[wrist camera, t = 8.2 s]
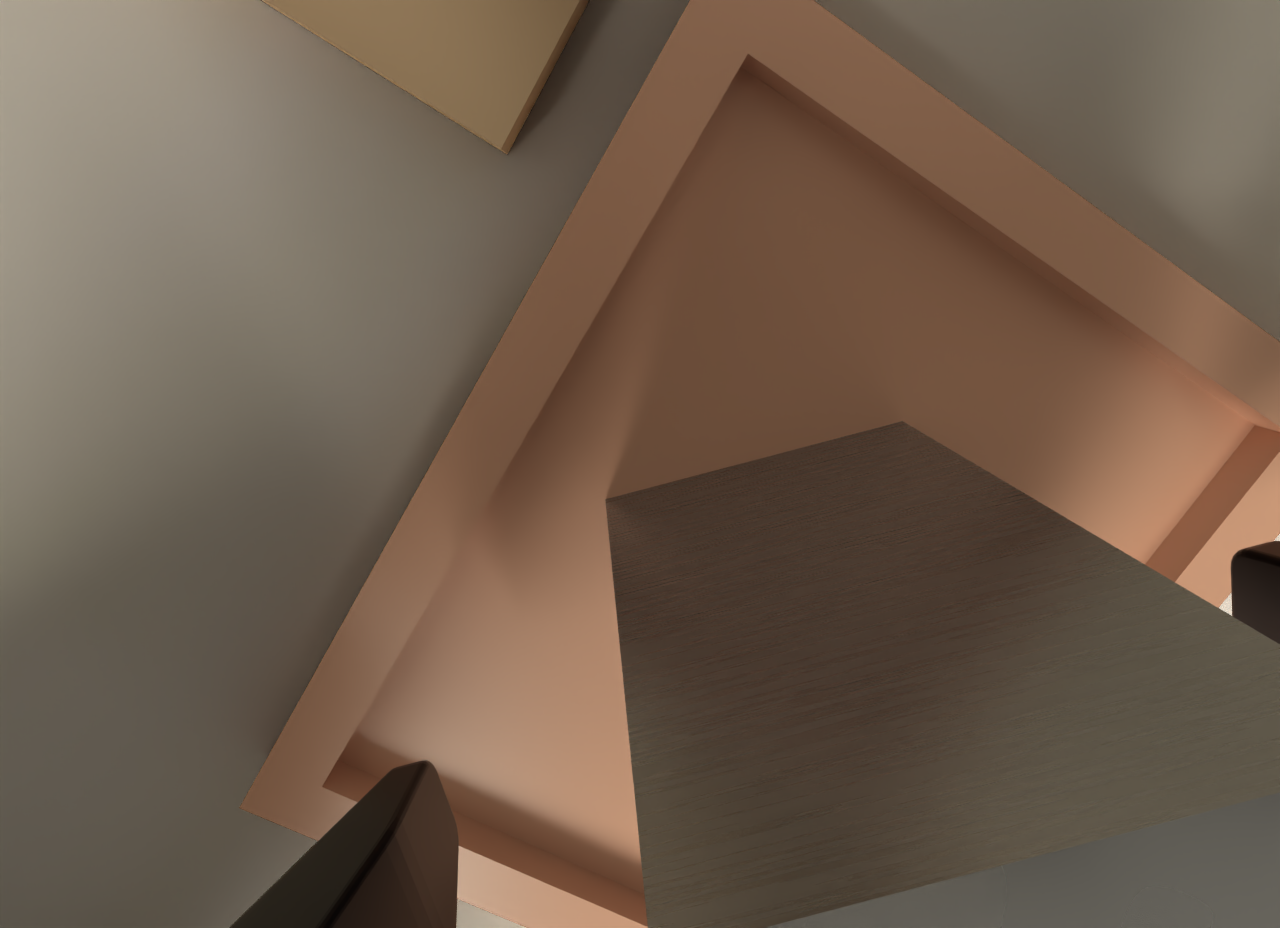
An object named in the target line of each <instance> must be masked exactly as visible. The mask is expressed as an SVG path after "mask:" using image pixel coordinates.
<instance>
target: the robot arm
mask: <svg viewBox="0 0 1280 928" xmlns="http://www.w3.org/2000/svg"><path fill="white" fill-rule="evenodd" d="M1231 591H1232V616H1233V617H1234V618H1236V619H1238V620H1239V621H1241V622H1243V623H1244V624H1246V625H1248V626H1250V627H1251V628H1253V629H1255V630H1256V631H1258V632H1260V633H1261V634H1263V635H1265V636H1266V637H1268V638H1270V639H1271V640H1273V641H1275V642H1277V643H1278V644H1280V541H1272V542H1266V543H1263V544H1259V545H1255V546H1251V547H1247V548H1244V549H1241V550H1239V551H1237V552H1236V553H1235V554H1234V556H1233V557H1232V560H1231ZM458 853H459V838H458V830H457V825H456V821H455V818H454V815H453V812H452V810H451V807H450V804H449V802H448V799H447V796H446V794H445V791H444V788H443V786H442V783H441V780H440V778H439V775H438V772H437V770H436V768H435V767H434V765H433V764H432V763H431V762H430V761H427V760H422V761H418V762H414V763H410V764H406V765H402V766H398V767H395V768H393V769H392V770H390V771H389V772H388V773H387V774H386V775H385V776H384V777H383V778H382V779H381V780H380V781H379V782H378V783H377V784H376V785H375V786H374V787H373V788H372V789H371V790H370V791H369V792H368V793H367V794H366V795H365V796H364V797H363V798H362V799H361V800H360V801H359V802H357V803H356V804H355V805H354V806H353V807H352V808H351V809H350V810H349V811H348V812H347V813H346V814H345V815H344V816H343V817H342V818H341V819H340V820H339V821H338V822H337V823H336V824H335V825H334V826H333V827H332V828H331V829H330V830H329V831H328V832H327V833H326V834H325V835H324V836H323V837H322V838H321V839H320V840H319V841H318V842H317V843H316V844H314V845H313V846H312V847H311V848H310V849H309V850H308V851H307V852H306V853H305V854H304V855H303V856H302V857H301V858H300V859H299V860H298V861H297V862H296V863H295V864H294V865H293V866H292V867H291V868H290V869H289V870H288V871H287V872H286V873H285V874H284V875H283V876H282V877H281V878H280V879H279V880H278V881H277V882H276V883H275V884H274V885H273V886H271V887H270V888H269V889H268V890H267V891H266V892H265V893H264V894H263V895H262V896H261V897H260V898H259V899H258V900H257V901H256V902H255V903H254V904H253V905H252V906H251V907H250V908H249V909H248V910H247V911H246V912H245V913H244V914H243V915H242V916H241V917H240V918H239V919H238V920H237V921H236V922H235V923H234V924H233V925H232V926H231V927H230V928H456V918H457V886H458Z"/></svg>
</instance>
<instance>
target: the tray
mask: <svg viewBox="0 0 1280 928" xmlns="http://www.w3.org/2000/svg"><path fill="white" fill-rule="evenodd" d="M901 421H903V422H905V423H907V424H908V425H910V426H912V427H913V428H915V429H917V430H919V431H920V432H922V433H924V434H925V435H927V436H929V437H930V438H932V439H934V440H935V441H937V442H939V443H940V444H942V445H944V446H946V447H947V448H949V449H951V450H952V451H954V452H956V453H957V454H959V455H961V456H962V457H964V458H966V459H967V460H969V461H971V462H973V463H974V464H976V465H978V466H979V467H981V468H983V469H984V470H986V471H988V472H989V473H991V474H993V475H995V476H996V477H998V478H1000V479H1001V480H1003V481H1005V482H1006V483H1008V484H1010V485H1011V486H1013V487H1015V488H1016V489H1018V490H1020V491H1022V492H1023V493H1025V494H1027V495H1028V496H1030V497H1032V498H1033V499H1035V500H1037V501H1038V502H1040V503H1042V504H1043V505H1045V506H1047V507H1049V508H1050V509H1052V510H1054V511H1055V512H1057V513H1059V514H1060V515H1062V516H1064V517H1065V518H1067V519H1069V520H1071V521H1072V522H1074V523H1076V524H1077V525H1079V526H1081V527H1082V528H1084V529H1086V530H1087V531H1089V532H1091V533H1092V534H1094V535H1096V536H1098V537H1099V538H1101V539H1103V540H1104V541H1106V542H1108V543H1109V544H1111V545H1113V546H1114V547H1116V548H1118V549H1119V550H1121V551H1123V552H1125V553H1126V554H1128V555H1130V556H1131V557H1133V558H1135V559H1136V560H1138V561H1140V562H1141V563H1143V564H1145V565H1146V566H1148V567H1150V568H1152V569H1153V570H1155V571H1157V572H1158V573H1160V574H1162V575H1163V576H1165V577H1167V578H1168V579H1170V580H1172V581H1174V582H1175V583H1177V584H1179V585H1180V586H1182V587H1184V588H1185V589H1187V590H1189V591H1190V592H1192V593H1194V594H1195V595H1197V596H1199V597H1201V598H1202V599H1204V600H1206V601H1207V602H1209V603H1211V604H1212V605H1214V606H1216V607H1217V608H1219V606H1220V605H1221V604H1222V603H1223V602H1224V600H1225V599H1226V598H1227V597H1228V596H1229V594H1230V593H1231V592H1232V591H1231V560H1232V557H1233V556H1234V554H1235V553H1236V552H1237V551H1239V550H1241V549H1244V548H1247V547H1251V546H1255V545H1259V544H1263V543H1266V542H1272V541H1274V540H1275V538H1276V537H1277V536H1278V535H1279V534H1280V342H1279V341H1278V340H1276V339H1275V338H1274V337H1272V336H1271V335H1270V334H1268V333H1267V332H1266V331H1264V330H1263V329H1261V328H1260V327H1259V326H1257V325H1256V324H1255V323H1253V322H1252V321H1251V320H1249V319H1248V318H1246V317H1245V316H1244V315H1242V314H1241V313H1240V312H1238V311H1237V310H1236V309H1234V308H1233V307H1231V306H1230V305H1229V304H1227V303H1226V302H1225V301H1223V300H1222V299H1221V298H1219V297H1218V296H1216V295H1215V294H1214V293H1212V292H1211V291H1210V290H1208V289H1207V288H1206V287H1204V286H1203V285H1201V284H1200V283H1199V282H1197V281H1196V280H1195V279H1193V278H1192V277H1191V276H1189V275H1188V274H1186V273H1185V272H1184V271H1182V270H1181V269H1180V268H1178V267H1177V266H1176V265H1174V264H1173V263H1171V262H1170V261H1169V260H1167V259H1166V258H1165V257H1163V256H1162V255H1160V254H1159V253H1158V252H1156V251H1155V250H1154V249H1152V248H1151V247H1150V246H1148V245H1147V244H1145V243H1144V242H1143V241H1141V240H1140V239H1139V238H1137V237H1136V236H1135V235H1133V234H1132V233H1130V232H1129V231H1128V230H1126V229H1125V228H1124V227H1122V226H1121V225H1120V224H1118V223H1117V222H1115V221H1114V220H1113V219H1111V218H1110V217H1109V216H1107V215H1106V214H1105V213H1103V212H1102V211H1100V210H1099V209H1098V208H1096V207H1095V206H1094V205H1092V204H1091V203H1090V202H1088V201H1087V200H1085V199H1084V198H1083V197H1081V196H1080V195H1079V194H1077V193H1076V192H1075V191H1073V190H1072V189H1070V188H1069V187H1068V186H1066V185H1065V184H1064V183H1062V182H1061V181H1060V180H1058V179H1057V178H1055V177H1054V176H1053V175H1051V174H1050V173H1049V172H1047V171H1046V170H1045V169H1043V168H1042V167H1040V166H1039V165H1038V164H1036V163H1035V162H1034V161H1032V160H1031V159H1029V158H1028V157H1027V156H1025V155H1024V154H1023V153H1021V152H1020V151H1019V150H1017V149H1016V148H1014V147H1013V146H1012V145H1010V144H1009V143H1008V142H1006V141H1005V140H1004V139H1002V138H1001V137H999V136H998V135H997V134H995V133H994V132H993V131H991V130H990V129H989V128H987V127H986V126H984V125H983V124H982V123H980V122H979V121H978V120H976V119H975V118H974V117H972V116H971V115H969V114H968V113H967V112H965V111H964V110H963V109H961V108H960V107H959V106H957V105H956V104H954V103H953V102H952V101H950V100H949V99H948V98H946V97H945V96H944V95H942V94H941V93H939V92H938V91H937V90H935V89H934V88H933V87H931V86H930V85H929V84H927V83H926V82H924V81H923V80H922V79H920V78H919V77H918V76H916V75H915V74H914V73H912V72H911V71H909V70H908V69H907V68H905V67H904V66H903V65H901V64H900V63H898V62H897V61H896V60H894V59H893V58H892V57H890V56H889V55H888V54H886V53H885V52H883V51H882V50H881V49H879V48H878V47H877V46H875V45H874V44H873V43H871V42H870V41H868V40H867V39H866V38H864V37H863V36H862V35H860V34H859V33H858V32H856V31H855V30H853V29H852V28H851V27H849V26H848V25H847V24H845V23H844V22H843V21H841V20H840V19H838V18H837V17H836V16H834V15H833V14H832V13H830V12H829V11H828V10H826V9H825V8H823V7H822V6H821V5H819V4H818V3H817V2H815V1H814V0H690V1H689V3H688V5H687V7H686V8H685V10H684V12H683V14H682V15H681V17H680V19H679V21H678V23H677V24H676V26H675V28H674V30H673V32H672V33H671V35H670V37H669V39H668V41H667V42H666V44H665V46H664V48H663V50H662V51H661V53H660V55H659V57H658V58H657V60H656V62H655V64H654V66H653V67H652V69H651V71H650V73H649V75H648V76H647V78H646V80H645V82H644V84H643V85H642V87H641V89H640V91H639V93H638V94H637V96H636V98H635V100H634V101H633V103H632V105H631V107H630V109H629V110H628V112H627V114H626V116H625V118H624V119H623V121H622V123H621V125H620V127H619V128H618V130H617V132H616V134H615V135H614V137H613V139H612V141H611V143H610V144H609V146H608V148H607V150H606V152H605V153H604V155H603V157H602V159H601V161H600V162H599V164H598V166H597V168H596V170H595V171H594V173H593V175H592V177H591V178H590V180H589V182H588V184H587V186H586V187H585V189H584V191H583V193H582V195H581V196H580V198H579V200H578V202H577V204H576V205H575V207H574V209H573V211H572V213H571V214H570V216H569V218H568V220H567V221H566V223H565V225H564V227H563V229H562V230H561V232H560V234H559V236H558V238H557V239H556V241H555V243H554V245H553V247H552V248H551V250H550V252H549V254H548V256H547V257H546V259H545V261H544V263H543V264H542V266H541V268H540V270H539V272H538V273H537V275H536V277H535V279H534V281H533V282H532V284H531V286H530V288H529V290H528V291H527V293H526V295H525V297H524V299H523V300H522V302H521V304H520V306H519V307H518V309H517V311H516V313H515V315H514V316H513V318H512V320H511V322H510V324H509V325H508V327H507V329H506V331H505V333H504V334H503V336H502V338H501V340H500V342H499V343H498V345H497V347H496V349H495V350H494V352H493V354H492V356H491V358H490V359H489V361H488V363H487V365H486V367H485V368H484V370H483V372H482V374H481V376H480V377H479V379H478V381H477V383H476V385H475V386H474V388H473V390H472V392H471V393H470V395H469V397H468V399H467V401H466V402H465V404H464V406H463V408H462V410H461V411H460V413H459V415H458V417H457V419H456V420H455V422H454V424H453V426H452V428H451V429H450V431H449V433H448V435H447V436H446V438H445V440H444V442H443V444H442V445H441V447H440V449H439V451H438V453H437V454H436V456H435V458H434V460H433V462H432V463H431V465H430V467H429V469H428V471H427V472H426V474H425V476H424V478H423V479H422V481H421V483H420V485H419V487H418V488H417V490H416V492H415V494H414V496H413V497H412V499H411V501H410V503H409V505H408V506H407V508H406V510H405V512H404V514H403V515H402V517H401V519H400V521H399V522H398V524H397V526H396V528H395V530H394V531H393V533H392V535H391V537H390V539H389V540H388V542H387V544H386V546H385V548H384V549H383V551H382V553H381V555H380V557H379V558H378V560H377V562H376V564H375V565H374V567H373V569H372V571H371V573H370V574H369V576H368V578H367V580H366V582H365V583H364V585H363V587H362V589H361V591H360V592H359V594H358V596H357V598H356V600H355V601H354V603H353V605H352V607H351V608H350V610H349V612H348V614H347V616H346V617H345V619H344V621H343V623H342V625H341V626H340V628H339V630H338V632H337V634H336V635H335V637H334V639H333V641H332V643H331V644H330V646H329V648H328V650H327V651H326V653H325V655H324V657H323V659H322V660H321V662H320V664H319V666H318V668H317V669H316V671H315V673H314V675H313V677H312V678H311V680H310V682H309V684H308V686H307V687H306V689H305V691H304V693H303V694H302V696H301V698H300V700H299V702H298V703H297V705H296V707H295V709H294V711H293V712H292V714H291V716H290V718H289V720H288V721H287V723H286V725H285V727H284V729H283V730H282V732H281V734H280V736H279V737H278V739H277V741H276V743H275V745H274V746H273V748H272V750H271V752H270V754H269V755H268V757H267V759H266V761H265V763H264V764H263V766H262V768H261V770H260V772H259V773H258V775H257V777H256V779H255V780H254V782H253V784H252V786H251V788H250V789H249V791H248V793H247V795H246V797H245V798H244V800H243V802H242V804H241V806H240V807H239V808H240V809H242V810H245V811H247V812H249V813H252V814H254V815H257V816H259V817H261V818H264V819H266V820H269V821H271V822H273V823H276V824H278V825H281V826H283V827H285V828H288V829H290V830H293V831H295V832H298V833H300V834H302V835H305V836H307V837H310V838H312V839H314V840H317V841H319V840H320V839H321V838H322V837H323V836H324V835H325V834H326V833H327V832H328V831H329V830H330V829H331V828H332V827H333V826H334V825H335V824H336V823H337V822H338V821H339V820H340V819H341V818H342V817H343V816H344V815H345V814H346V813H347V812H348V811H349V810H350V809H351V808H352V807H353V806H354V805H355V804H356V803H357V802H359V801H360V800H361V799H362V798H363V797H364V796H365V795H366V794H367V793H368V792H369V791H370V790H371V789H372V788H373V787H374V786H375V785H376V784H377V783H378V782H379V781H380V780H381V779H382V778H383V777H384V776H385V775H386V774H387V773H388V772H389V771H390V770H392V769H393V768H395V767H398V766H402V765H406V764H410V763H414V762H418V761H422V760H427V761H430V762H431V763H432V764H433V765H434V767H435V768H436V770H437V772H438V775H439V778H440V780H441V783H442V786H443V788H444V791H445V794H446V796H447V799H448V802H449V804H450V807H451V810H452V812H453V815H454V818H455V821H456V825H457V830H458V838H459V853H458V886H457V899H459V900H461V901H464V902H466V903H468V904H471V905H473V906H476V907H478V908H480V909H483V910H485V911H488V912H490V913H492V914H495V915H497V916H500V917H502V918H505V919H507V920H509V921H512V922H514V923H517V924H519V925H521V926H524V927H526V928H648V925H647V915H646V904H645V894H644V884H643V874H642V864H641V854H640V844H639V834H638V824H637V814H636V804H635V794H634V784H633V774H632V764H631V753H630V743H629V733H628V723H627V713H626V703H625V693H624V683H623V673H622V663H621V653H620V643H619V633H618V623H617V613H616V603H615V592H614V582H613V572H612V562H611V552H610V542H609V532H608V522H607V512H606V502H605V499H608V498H612V497H616V496H620V495H623V494H627V493H631V492H635V491H639V490H642V489H646V488H650V487H654V486H658V485H662V484H665V483H669V482H673V481H677V480H681V479H684V478H688V477H692V476H696V475H700V474H703V473H707V472H711V471H715V470H719V469H722V468H726V467H730V466H734V465H738V464H741V463H745V462H749V461H753V460H757V459H760V458H764V457H768V456H772V455H776V454H779V453H783V452H787V451H791V450H795V449H798V448H802V447H806V446H810V445H814V444H817V443H821V442H825V441H829V440H833V439H836V438H840V437H844V436H848V435H852V434H856V433H859V432H863V431H867V430H871V429H875V428H878V427H882V426H886V425H890V424H894V423H897V422H901Z"/></svg>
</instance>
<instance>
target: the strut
mask: <svg viewBox="0 0 1280 928" xmlns="http://www.w3.org/2000/svg"><path fill="white" fill-rule="evenodd" d="M605 502H606V512H607V522H608V532H609V542H610V552H611V562H612V572H613V582H614V592H615V603H616V613H617V623H618V633H619V643H620V653H621V663H622V673H623V683H624V693H625V703H626V713H627V723H628V733H629V743H630V753H631V764H632V774H633V784H634V794H635V804H636V814H637V824H638V834H639V844H640V854H641V864H642V874H643V884H644V894H645V904H646V915H647V925H648V928H1280V644H1278V643H1277V642H1275V641H1273V640H1271V639H1270V638H1268V637H1266V636H1265V635H1263V634H1261V633H1260V632H1258V631H1256V630H1255V629H1253V628H1251V627H1250V626H1248V625H1246V624H1244V623H1243V622H1241V621H1239V620H1238V619H1236V618H1234V617H1233V616H1231V615H1229V614H1228V613H1226V612H1224V611H1222V610H1221V609H1219V608H1217V607H1216V606H1214V605H1212V604H1211V603H1209V602H1207V601H1206V600H1204V599H1202V598H1201V597H1199V596H1197V595H1195V594H1194V593H1192V592H1190V591H1189V590H1187V589H1185V588H1184V587H1182V586H1180V585H1179V584H1177V583H1175V582H1174V581H1172V580H1170V579H1168V578H1167V577H1165V576H1163V575H1162V574H1160V573H1158V572H1157V571H1155V570H1153V569H1152V568H1150V567H1148V566H1146V565H1145V564H1143V563H1141V562H1140V561H1138V560H1136V559H1135V558H1133V557H1131V556H1130V555H1128V554H1126V553H1125V552H1123V551H1121V550H1119V549H1118V548H1116V547H1114V546H1113V545H1111V544H1109V543H1108V542H1106V541H1104V540H1103V539H1101V538H1099V537H1098V536H1096V535H1094V534H1092V533H1091V532H1089V531H1087V530H1086V529H1084V528H1082V527H1081V526H1079V525H1077V524H1076V523H1074V522H1072V521H1071V520H1069V519H1067V518H1065V517H1064V516H1062V515H1060V514H1059V513H1057V512H1055V511H1054V510H1052V509H1050V508H1049V507H1047V506H1045V505H1043V504H1042V503H1040V502H1038V501H1037V500H1035V499H1033V498H1032V497H1030V496H1028V495H1027V494H1025V493H1023V492H1022V491H1020V490H1018V489H1016V488H1015V487H1013V486H1011V485H1010V484H1008V483H1006V482H1005V481H1003V480H1001V479H1000V478H998V477H996V476H995V475H993V474H991V473H989V472H988V471H986V470H984V469H983V468H981V467H979V466H978V465H976V464H974V463H973V462H971V461H969V460H967V459H966V458H964V457H962V456H961V455H959V454H957V453H956V452H954V451H952V450H951V449H949V448H947V447H946V446H944V445H942V444H940V443H939V442H937V441H935V440H934V439H932V438H930V437H929V436H927V435H925V434H924V433H922V432H920V431H919V430H917V429H915V428H913V427H912V426H910V425H908V424H907V423H905V422H903V421H901V422H897V423H894V424H890V425H886V426H882V427H878V428H875V429H871V430H867V431H863V432H859V433H856V434H852V435H848V436H844V437H840V438H836V439H833V440H829V441H825V442H821V443H817V444H814V445H810V446H806V447H802V448H798V449H795V450H791V451H787V452H783V453H779V454H776V455H772V456H768V457H764V458H760V459H757V460H753V461H749V462H745V463H741V464H738V465H734V466H730V467H726V468H722V469H719V470H715V471H711V472H707V473H703V474H700V475H696V476H692V477H688V478H684V479H681V480H677V481H673V482H669V483H665V484H662V485H658V486H654V487H650V488H646V489H642V490H639V491H635V492H631V493H627V494H623V495H620V496H616V497H612V498H608V499H605Z"/></svg>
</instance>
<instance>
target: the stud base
mask: <svg viewBox="0 0 1280 928" xmlns="http://www.w3.org/2000/svg"><path fill="white" fill-rule="evenodd" d="M261 1H263V2H264V3H266V4H268V5H269V6H271V7H272V8H274V9H276V10H277V11H279V12H280V13H282V14H284V15H285V16H287V17H288V18H290V19H292V20H293V21H295V22H296V23H298V24H300V25H301V26H303V27H304V28H306V29H307V30H309V31H311V32H312V33H314V34H315V35H317V36H319V37H320V38H322V39H323V40H325V41H327V42H328V43H330V44H331V45H333V46H335V47H336V48H338V49H339V50H341V51H343V52H344V53H346V54H347V55H349V56H351V57H352V58H354V59H355V60H357V61H358V62H360V63H362V64H363V65H365V66H366V67H368V68H370V69H371V70H373V71H374V72H376V73H378V74H379V75H381V76H382V77H384V78H386V79H387V80H389V81H390V82H392V83H394V84H395V85H397V86H398V87H400V88H401V89H403V90H405V91H406V92H408V93H409V94H411V95H413V96H414V97H416V98H417V99H419V100H421V101H422V102H424V103H425V104H427V105H429V106H430V107H432V108H433V109H435V110H437V111H438V112H440V113H441V114H443V115H445V116H446V117H448V118H449V119H451V120H452V121H454V122H456V123H457V124H459V125H460V126H462V127H464V128H465V129H467V130H468V131H470V132H472V133H473V134H475V135H476V136H478V137H480V138H481V139H483V140H484V141H486V142H488V143H489V144H491V145H492V146H494V147H496V148H497V149H499V150H500V151H502V152H503V153H505V154H508V152H509V151H510V149H511V147H512V145H513V143H514V141H515V139H516V137H517V136H518V134H519V132H520V130H521V128H522V126H523V124H524V122H525V120H526V119H527V117H528V115H529V113H530V111H531V109H532V107H533V105H534V104H535V102H536V100H537V98H538V96H539V94H540V92H541V90H542V89H543V87H544V85H545V83H546V81H547V79H548V77H549V75H550V74H551V72H552V70H553V68H554V66H555V64H556V62H557V60H558V58H559V57H560V55H561V53H562V51H563V49H564V47H565V45H566V43H567V42H568V40H569V38H570V36H571V34H572V32H573V30H574V28H575V27H576V25H577V23H578V21H579V19H580V17H581V15H582V13H583V12H584V10H585V8H586V6H587V4H588V2H589V0H261Z"/></svg>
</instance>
